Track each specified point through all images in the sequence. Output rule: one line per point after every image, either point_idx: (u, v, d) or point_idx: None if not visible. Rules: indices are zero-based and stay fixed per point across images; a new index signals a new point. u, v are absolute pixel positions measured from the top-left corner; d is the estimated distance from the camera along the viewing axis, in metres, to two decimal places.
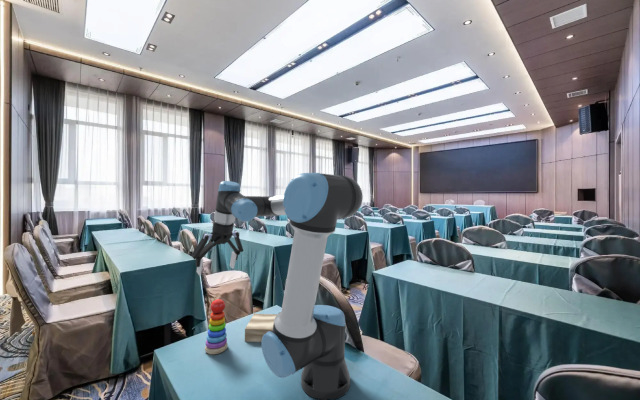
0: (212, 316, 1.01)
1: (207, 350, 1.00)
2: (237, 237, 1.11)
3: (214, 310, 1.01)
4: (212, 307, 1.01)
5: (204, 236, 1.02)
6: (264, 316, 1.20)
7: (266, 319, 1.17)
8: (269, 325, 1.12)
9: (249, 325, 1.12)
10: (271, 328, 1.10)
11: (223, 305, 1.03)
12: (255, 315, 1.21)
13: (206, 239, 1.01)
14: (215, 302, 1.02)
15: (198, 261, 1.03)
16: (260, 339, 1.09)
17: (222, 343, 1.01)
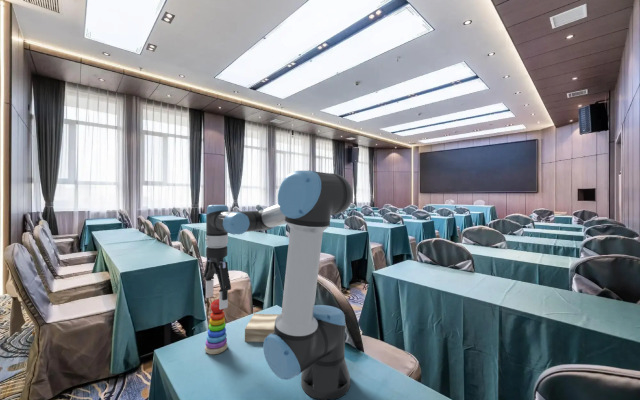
0: (212, 316, 1.01)
1: (207, 350, 1.00)
2: None
3: (214, 310, 1.01)
4: (212, 307, 1.01)
5: (224, 264, 0.98)
6: (264, 316, 1.20)
7: (266, 319, 1.17)
8: (269, 325, 1.12)
9: (249, 325, 1.12)
10: (271, 328, 1.10)
11: None
12: (255, 315, 1.21)
13: None
14: (215, 302, 1.02)
15: None
16: (260, 339, 1.09)
17: (222, 343, 1.01)
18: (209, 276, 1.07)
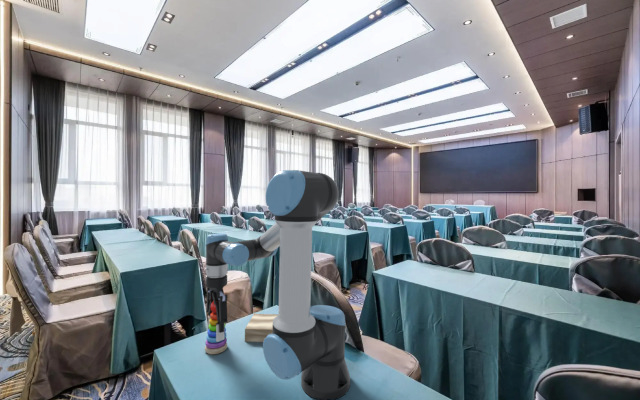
0: (212, 316, 1.01)
1: (207, 350, 1.00)
2: None
3: (214, 310, 1.01)
4: (212, 307, 1.01)
5: (224, 298, 0.98)
6: (264, 316, 1.20)
7: (266, 319, 1.17)
8: (269, 325, 1.12)
9: (249, 325, 1.12)
10: (271, 328, 1.10)
11: None
12: (255, 315, 1.21)
13: None
14: None
15: None
16: (260, 339, 1.09)
17: (222, 343, 1.01)
18: None
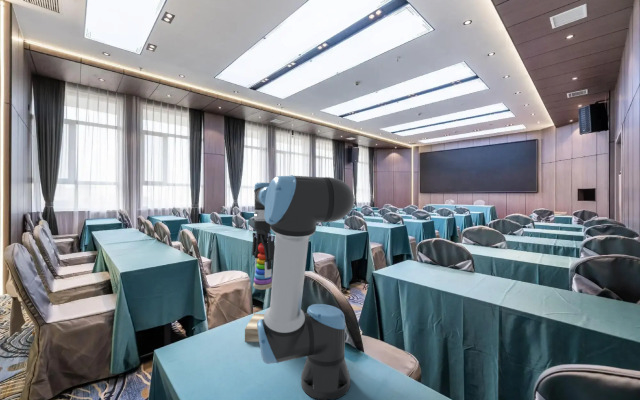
0: (260, 256, 1.12)
1: (256, 286, 1.11)
2: None
3: (262, 250, 1.12)
4: (260, 248, 1.12)
5: (272, 238, 1.10)
6: None
7: None
8: None
9: (249, 325, 1.12)
10: None
11: None
12: (255, 315, 1.21)
13: None
14: None
15: None
16: None
17: (269, 280, 1.13)
18: (258, 252, 1.17)
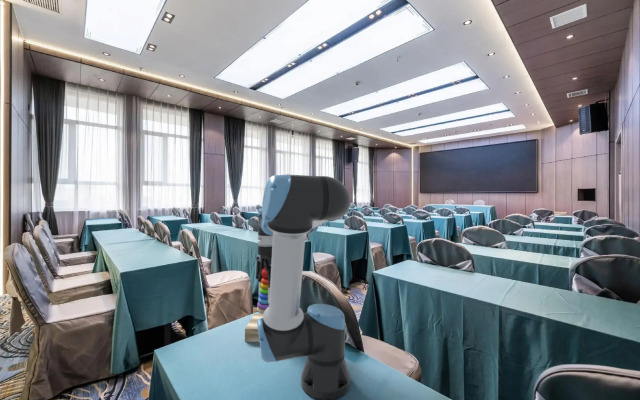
0: (263, 281, 1.14)
1: (259, 310, 1.13)
2: None
3: (265, 275, 1.13)
4: (263, 273, 1.14)
5: None
6: None
7: None
8: None
9: (249, 325, 1.12)
10: None
11: None
12: (255, 315, 1.21)
13: None
14: None
15: None
16: None
17: None
18: (261, 276, 1.18)
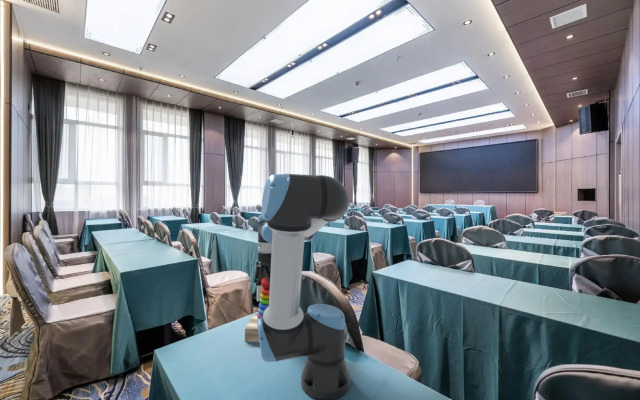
0: (263, 291, 1.14)
1: None
2: None
3: (265, 286, 1.13)
4: (263, 283, 1.13)
5: None
6: None
7: None
8: None
9: (249, 325, 1.12)
10: None
11: None
12: (255, 315, 1.21)
13: None
14: (266, 279, 1.14)
15: None
16: None
17: None
18: (259, 280, 1.19)
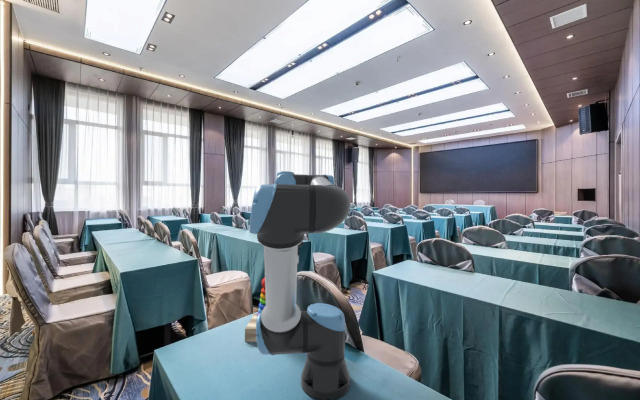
0: (263, 291, 1.14)
1: None
2: None
3: None
4: (263, 283, 1.14)
5: None
6: None
7: None
8: None
9: (249, 325, 1.12)
10: None
11: None
12: (255, 315, 1.21)
13: None
14: None
15: None
16: None
17: None
18: None
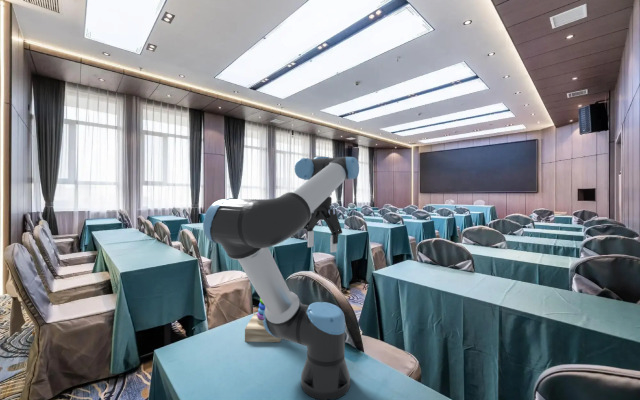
0: None
1: (259, 321, 1.13)
2: None
3: None
4: None
5: (334, 211, 1.05)
6: None
7: None
8: None
9: (249, 325, 1.12)
10: None
11: None
12: (255, 315, 1.21)
13: None
14: None
15: None
16: (260, 339, 1.09)
17: None
18: (311, 226, 1.14)
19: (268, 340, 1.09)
